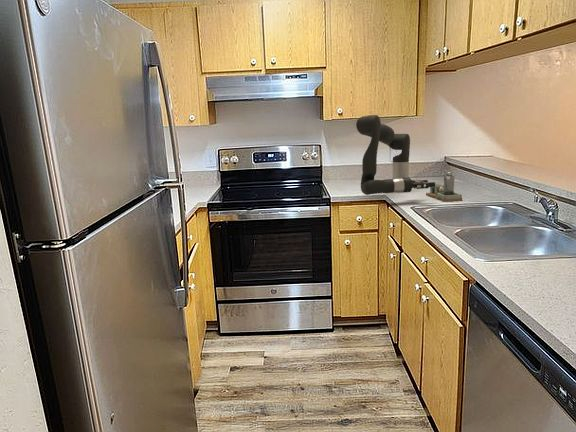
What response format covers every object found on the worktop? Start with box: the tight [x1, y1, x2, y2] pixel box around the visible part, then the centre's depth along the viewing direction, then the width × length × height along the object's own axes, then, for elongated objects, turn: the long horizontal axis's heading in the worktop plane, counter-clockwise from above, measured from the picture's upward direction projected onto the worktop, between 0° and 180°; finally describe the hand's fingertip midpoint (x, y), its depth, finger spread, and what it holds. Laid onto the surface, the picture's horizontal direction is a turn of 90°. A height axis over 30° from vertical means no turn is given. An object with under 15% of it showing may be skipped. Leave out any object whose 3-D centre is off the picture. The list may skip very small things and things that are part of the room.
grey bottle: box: [443, 171, 455, 196], centre depth 230 cm, size 5×5×13 cm
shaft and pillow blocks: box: [429, 183, 444, 195], centre depth 243 cm, size 9×5×5 cm, turn 7°
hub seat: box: [437, 191, 463, 199], centre depth 232 cm, size 9×9×2 cm
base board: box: [425, 192, 463, 203], centre depth 238 cm, size 21×10×1 cm, turn 8°
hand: (431, 183), depth 229 cm, fingers open, 8 cm apart
